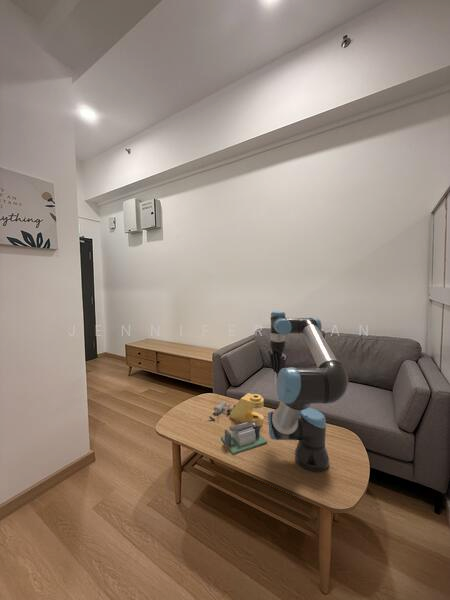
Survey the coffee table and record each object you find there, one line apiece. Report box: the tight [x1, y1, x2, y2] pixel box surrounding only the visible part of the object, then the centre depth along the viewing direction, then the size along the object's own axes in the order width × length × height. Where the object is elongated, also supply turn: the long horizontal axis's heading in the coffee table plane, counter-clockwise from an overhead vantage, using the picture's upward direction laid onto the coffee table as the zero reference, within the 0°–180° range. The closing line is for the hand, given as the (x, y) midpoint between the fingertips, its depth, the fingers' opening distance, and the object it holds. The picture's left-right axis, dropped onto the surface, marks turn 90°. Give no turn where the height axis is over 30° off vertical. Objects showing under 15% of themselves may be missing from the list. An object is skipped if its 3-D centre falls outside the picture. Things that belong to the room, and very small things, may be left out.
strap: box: [228, 421, 256, 432], centre depth 129 cm, size 15×4×1 cm, turn 115°
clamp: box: [229, 392, 265, 427], centre depth 150 cm, size 20×9×16 cm, turn 55°
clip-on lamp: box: [208, 400, 236, 422], centre depth 155 cm, size 12×6×18 cm
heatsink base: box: [220, 421, 268, 455], centre depth 130 cm, size 20×14×8 cm
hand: (277, 383), depth 132 cm, fingers closed
